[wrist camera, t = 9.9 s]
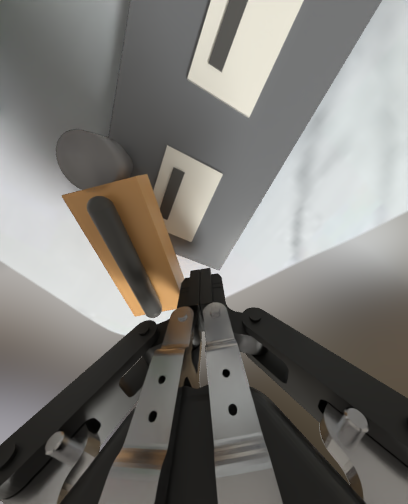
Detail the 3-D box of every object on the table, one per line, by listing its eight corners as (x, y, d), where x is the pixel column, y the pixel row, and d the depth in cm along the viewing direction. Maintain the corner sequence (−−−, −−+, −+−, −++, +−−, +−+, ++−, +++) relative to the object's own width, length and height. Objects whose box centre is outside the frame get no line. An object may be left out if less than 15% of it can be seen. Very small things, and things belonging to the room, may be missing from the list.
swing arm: (130, 126, 9) (97, 109, 6) (187, 288, 14) (184, 320, 11) (62, 146, 9) (0, 139, 6) (142, 297, 14) (128, 330, 11)
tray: (176, -190, 6) (163, -395, 4) (370, 2, 9) (433, -58, 6) (102, 218, 14) (82, 230, 12) (218, 263, 16) (221, 280, 14)
